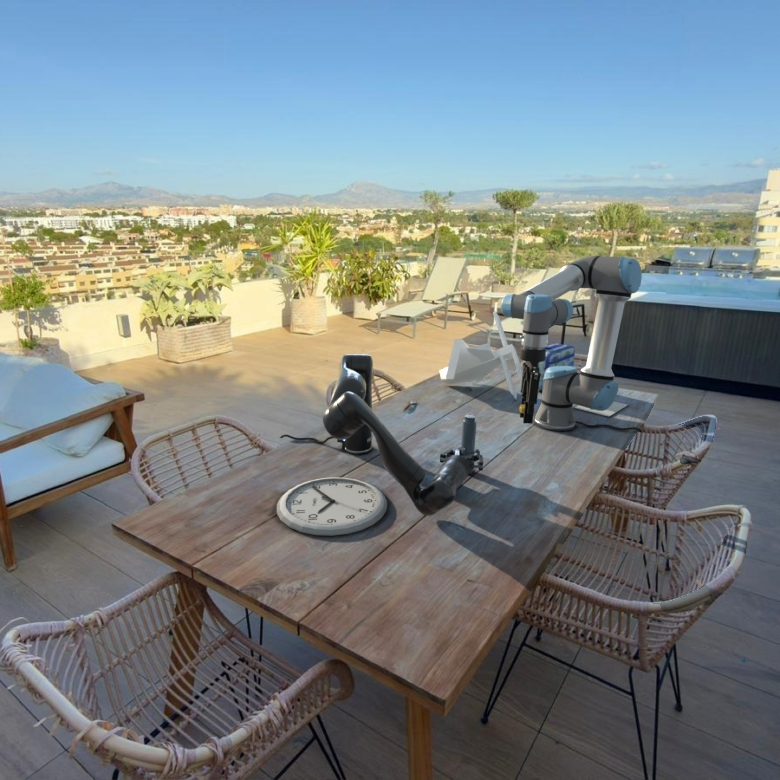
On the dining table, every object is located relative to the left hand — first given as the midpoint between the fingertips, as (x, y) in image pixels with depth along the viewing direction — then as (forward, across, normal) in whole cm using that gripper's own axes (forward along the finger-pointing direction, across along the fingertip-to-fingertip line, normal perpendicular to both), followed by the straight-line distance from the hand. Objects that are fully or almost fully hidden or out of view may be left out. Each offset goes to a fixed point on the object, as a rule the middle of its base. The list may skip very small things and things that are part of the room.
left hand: (469, 450), depth 165 cm
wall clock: (-39, +27, +6) cm, 48 cm away
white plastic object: (+80, +18, +6) cm, 82 cm away
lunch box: (+103, -11, +6) cm, 103 cm away
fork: (+47, +39, +6) cm, 62 cm away
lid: (+8, -15, -14) cm, 22 cm away
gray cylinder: (-3, 0, +6) cm, 7 cm away
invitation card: (+84, -35, +6) cm, 91 cm away
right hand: (+8, -15, -10) cm, 20 cm away
